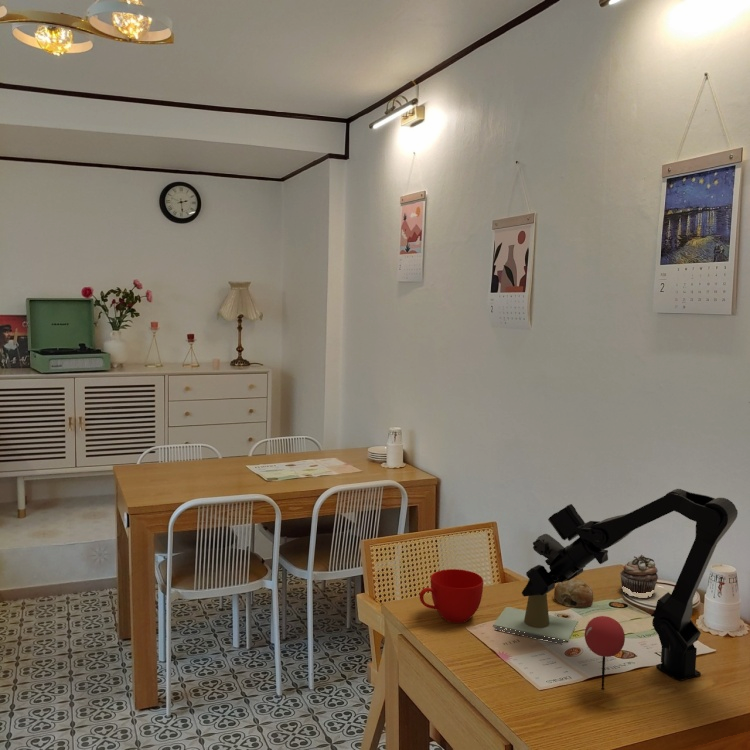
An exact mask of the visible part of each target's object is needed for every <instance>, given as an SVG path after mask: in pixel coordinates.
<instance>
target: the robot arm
mask: <svg viewBox="0 0 750 750" xmlns="http://www.w3.org/2000/svg"><path fill="white" fill-rule="evenodd" d="M673 512H675V513H678V514H681V515H682V516H684V517H685V518H687V519H688V520H691V521H693V522H695V538H694V541H693V543H692V545H691V547H690V551H689V552H688V554H687V557H686V560H685V562H684V564H683V566H682V569H681V571H680V574H679V575H678V578H677V581H676V583H675V585H674V587H673V589H672V592H671V593H670V592H666V593H665V594H664V595H663V596H661V597H660V598H658V599H657V602H656V606H655V610H654V611H653V613H651V614H650V616H651V617H653V619H652V627H653V628H654V631H655V632H656V634H657V635H658V638H659V641H660V642H659V643H660V645H661V651H660V653H661V654H660V663H658V664H656V665H655V666H656V668H657V669H659V670H660V671H661V672H663V673H665V674H667V675H668V676H670V677H671V678H672V679H675V680H676V681H683V680H688V679H691V678H695V677H699V676H701V675H702V674H701V673H702V672H701V671H699V670H697V669H696V668H697V652H698V651H697V647H695V645H694V643H696V642H697V641H698V640H699V638H700V636H701V634H702V633H701V631H700V629H698V626H696V625H695V623H694V622H693V621H692V615H693V606H694V605H693V600H694V597H695V595H696V593H697V591H698V588H699V586H700V583H701V581H702V579H703V576H704V575H705V573H706V570H707V567H708V565H709V563H710V562H711V558H712V557H713V554H714V551H715V549H716V547H717V544H718V543H719V542H720V541H721V540H722V538H723V537H724V536H725V534H727V532H728V531H729V529H730V528H731V526H732V525H733V524H734V523H735V521H736V519H737V518H738V509H737V507H736V505H735V504H734V503H733V502H732V501H731V500H729V499H728V498H725V497H717V498H715V497H712V496H709V495H704V494H700V493H694V492H690V491H686V490H684V489H681V488H676V489H672V490H671V491H669V492H667V493H665V495H663V496H661V497H658V498H657V499H656V500H654V501H653V500H652V501H651V502H649V503H647V504H645V505H643V506H640V507H639V508H636V509H635V510H633V511H630V512H629V513H625V514H620V515H615V516H611V517H608V518H605V519H603V520H601V521H598V520H589V521H587V522H585V521H584V519H583V518H582V517H581V515H580V514H579V513H578V511H577V508H575V506H574V505H573V504H572V503H570V504H568V505H566V506H565V507H564V508H562V509H560V510H558V511H557V512H555V513H553V514H552V515H550V517H548V519H547V520H548V522H549V523H550V525H551V526H552V527H553V529H554V531H556V533H557V535H558V536H559V537H560V538H561V540H563V541H566V540H568V541H569V542H570V541H572V540H574V539H575V538H576V537H577V538H576V539H575V540H574V541H573V542H571V543H570V544H569V545H567V546H563V545H562V544H561V543H560V542H559V541H558V540H557V539H555V538H554V537H552V535H550V534H548V533H544V534H541V535H539V536H538V537H537V539H536V540H535V541H533V542H532V545H533V547H532V549H533V551H535V553H537V554H538V555H540V556H542V557H545V559H546V560H544V563H545V564H546V565H547V566H548V568H549V570H550V571H548V570H547V569H546V567H545V566H544V565H541V564H537V565H535V566H533V567H531V568H530V569H528V570H527V571H526V573H525V575H526V577H527V578H528V581H529V582H528V581H527V583H528V584H527V583H526V585H525V587H524V588H523V590H522V591H521V594H522V596H523V597H528V596H533V595H542V596H543V595H545V594H546V593H547V594H548V593H549V592H551V591H552V590H555V587H556V584H558V583H559V582H561V583H562V582H563V581H568V580H570V579H572V578H574V577H577V576H579V575H581V574H582V573H583V572H584V568H585V567H586V566H587V565H588V564H590V563H591V562H592V561H594V560H596V561H597V563H598V564H600V565H602V564H604V563H606V562H607V561H608V560H609V554H608V553H609V551H608V548H610V547H612V546H613V545H616V544H617V543H619V542H621V541H622V540H624V538H626V537H627V536H629V535H630V534H631V533H633V531H635V530H636V529H639V528H640V527H642V526H645V525H648V524H649V523H651V522H653V521H656V520H657V519H660V518H662V517H664V516H666V515H668V514H670V513H673Z"/></svg>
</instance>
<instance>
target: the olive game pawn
mask: <svg viewBox="0 0 750 750" xmlns="http://www.w3.org/2000/svg"><path fill="white" fill-rule="evenodd" d="M528 582H529V580H528V581H527V583H526V585H527V584H528ZM547 595H548V593H546V594H545V595H543V596H542V595H533V596H527V602H526V608H525V610H526V613H525V619H524V623H525V624H526V625H528V626H530V627H534V628H545V627H548V626H549V615H550V614H549V606H548V596H547Z"/></svg>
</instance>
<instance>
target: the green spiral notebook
mask: <svg viewBox="0 0 750 750" xmlns="http://www.w3.org/2000/svg"><path fill="white" fill-rule="evenodd" d="M525 613H526V609H520V608H516V607H511V606H510V607H509V606H506V607H505V608H504V609H503V611H502V612H501V614H499V616H498V617H497V618H496V620H495V621H494V623H492V627H493V626H497V627H502V628H507V629H511V630H516V631H520V632H525V633H529V634H534V635H539V636H545V637H550V638H555V639H559V640H565V641H569V642H570V640H571V638H570V637H572V636H573V634H574V632H575V630H576V628H577V626H578V624H579V620H576V619H572V618H568V617H567V618H566V617H561V616H557V615H556V616H555V615H551V614H549V626H548V627H545V628H534V627H530V626H528V625H526V624H525V623H524V619H525ZM577 623H578V624H577ZM576 625H577V626H576ZM575 627H576V628H575ZM574 629H575V630H574ZM573 631H574V632H573ZM572 633H573V634H572ZM571 635H572V636H571ZM569 639H570V640H569Z"/></svg>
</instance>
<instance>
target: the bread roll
mask: <svg viewBox="0 0 750 750" xmlns="http://www.w3.org/2000/svg"><path fill="white" fill-rule="evenodd" d="M553 590H554V591H553V595H554V596H553V597H554V598H555V600H556V601H557V602H558V603H559V604H561V605H564V607H569V608H570V607H572V608H582V607H583V608H589V607H590V606H592V604H593V601H594V591H593V589H592V587H591V586H590V585H589V584H588V583H587V582H586V581H585V580H583V579H582V578H579V577H577V576H576V577H574V578H572V579H570V580H568V581H563V582H562V583H561V582H559V583H556V584H555V588H554V589H553ZM588 606H589V607H588Z"/></svg>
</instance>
